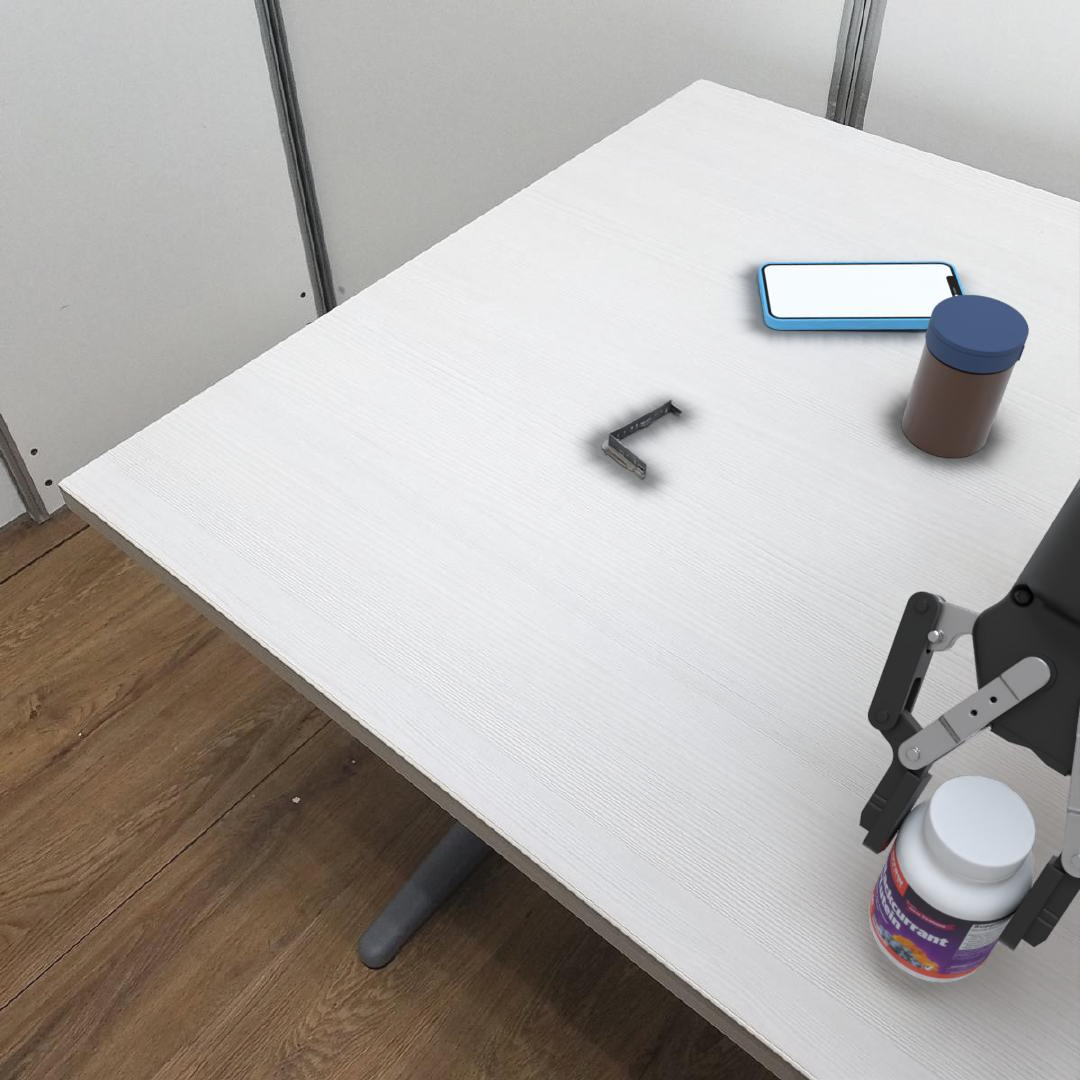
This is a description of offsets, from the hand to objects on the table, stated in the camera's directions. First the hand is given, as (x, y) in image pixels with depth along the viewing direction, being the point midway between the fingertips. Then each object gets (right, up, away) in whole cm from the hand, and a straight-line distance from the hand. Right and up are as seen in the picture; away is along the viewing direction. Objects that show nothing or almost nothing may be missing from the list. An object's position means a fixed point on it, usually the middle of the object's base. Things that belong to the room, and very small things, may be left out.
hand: (940, 892), depth 46 cm
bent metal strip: (-9, +21, +31) cm, 38 cm away
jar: (+11, +22, +31) cm, 40 cm away
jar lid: (+11, +27, +25) cm, 39 cm away
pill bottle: (+1, -3, +6) cm, 7 cm away
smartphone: (+8, +32, +41) cm, 53 cm away
